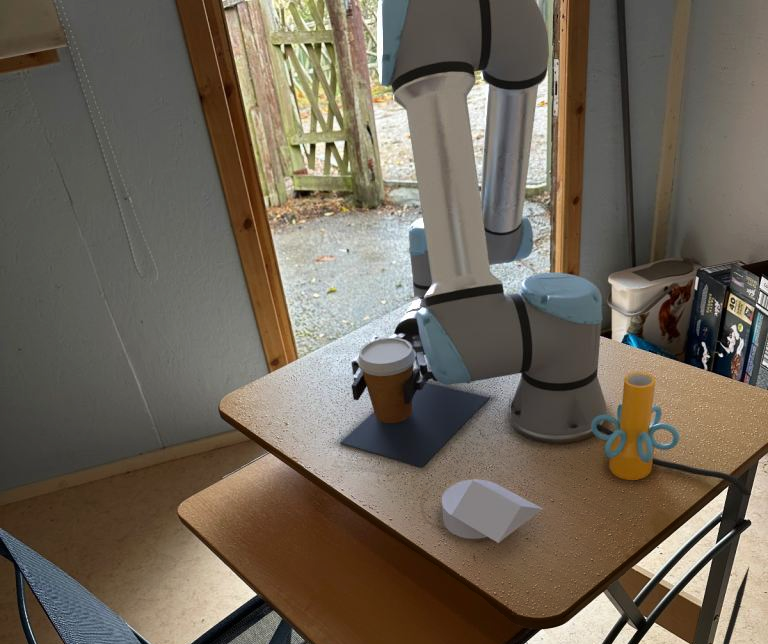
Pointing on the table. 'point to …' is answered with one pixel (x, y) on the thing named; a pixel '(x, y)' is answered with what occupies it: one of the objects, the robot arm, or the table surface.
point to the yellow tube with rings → (634, 429)
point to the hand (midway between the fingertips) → (380, 394)
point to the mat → (418, 426)
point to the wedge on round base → (484, 510)
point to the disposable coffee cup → (387, 376)
